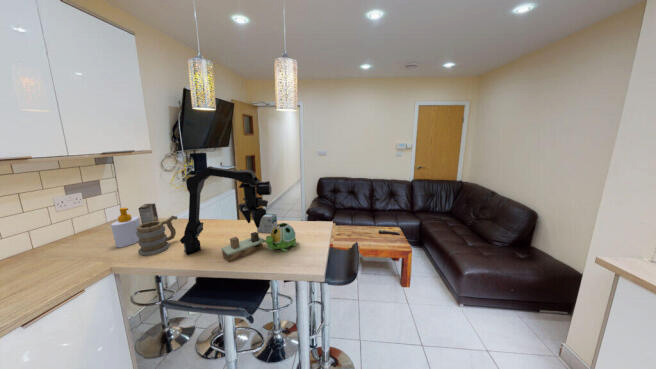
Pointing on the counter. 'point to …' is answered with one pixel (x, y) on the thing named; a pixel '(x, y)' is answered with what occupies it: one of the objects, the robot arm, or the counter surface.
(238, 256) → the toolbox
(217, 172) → the robot arm
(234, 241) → the lid
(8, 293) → the counter surface
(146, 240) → the tankard
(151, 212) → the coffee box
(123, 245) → the soap bottle
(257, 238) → the key peg
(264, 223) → the light bulb box
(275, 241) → the turtle holder
